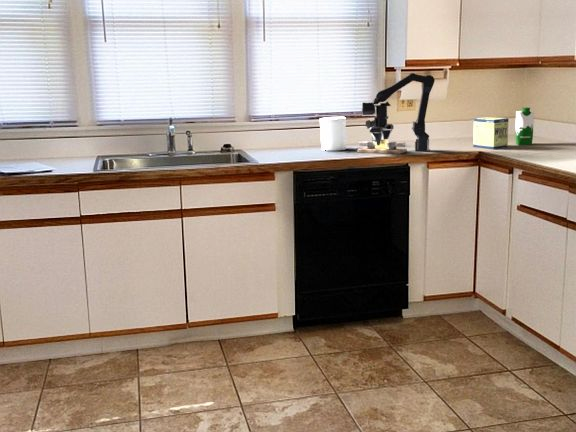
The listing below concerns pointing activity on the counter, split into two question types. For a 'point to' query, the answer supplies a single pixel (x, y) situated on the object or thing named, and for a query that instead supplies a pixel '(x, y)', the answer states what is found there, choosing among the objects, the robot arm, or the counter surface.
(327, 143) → the utensil holder
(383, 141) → the block
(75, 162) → the counter surface
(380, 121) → the robot arm
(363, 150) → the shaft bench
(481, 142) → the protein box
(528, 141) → the milk carton
